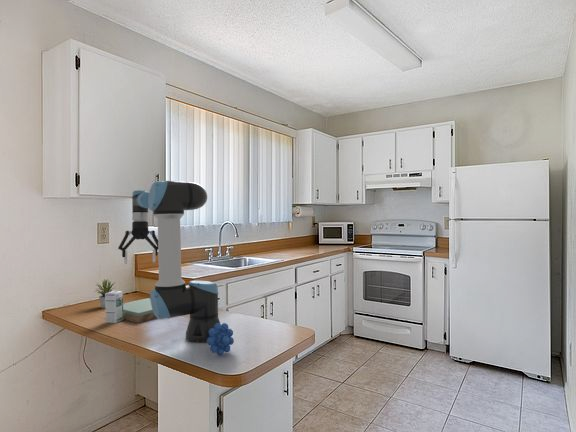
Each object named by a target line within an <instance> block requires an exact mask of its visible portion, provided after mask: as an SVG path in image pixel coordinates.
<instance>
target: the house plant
mask: <svg viewBox="0 0 576 432" xmlns="http://www.w3.org/2000/svg"><path fill="white" fill-rule="evenodd" d="M114 284H115V282H113V283H112V284H111V281H110V280H109V278H107V279H103V280H102V285H101V284H100V283H99V282H96V286H97V287H98V288H95V291H93V292H94V293H95V292H97V294H99V296H98V299H99V303H100V307H101V309H106V308H105V293H108V292H112V291H113V289H115V287H114ZM112 287H113V288H112Z"/></svg>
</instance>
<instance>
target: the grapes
mask: <svg viewBox="0 0 576 432" xmlns="http://www.w3.org/2000/svg"><path fill="white" fill-rule="evenodd" d="M209 335H210V336H211V337H209V338H208V339H207V342H206V343H207V345H208V346H210V347H209V349H210V352H211V353H213V354H214V353H215V354H217V355H218V356H223V355H224V354H225V353H229V352H231V346H232V345H234V342H235V341H234V337H233V336H234V330H233V329H232V328H229V325H228V323H226V322H224V323H222V324H221V322H220V323H216V324H215V326H214V328H211V329H210V330H209Z"/></svg>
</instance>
